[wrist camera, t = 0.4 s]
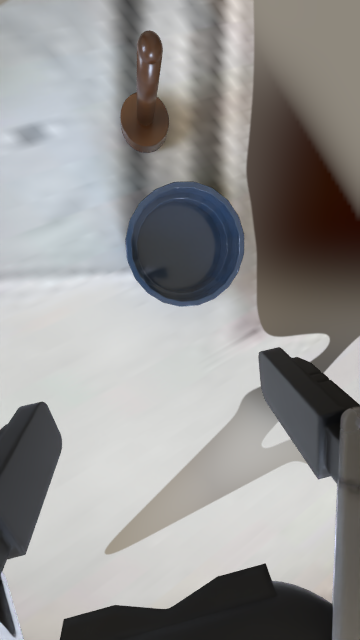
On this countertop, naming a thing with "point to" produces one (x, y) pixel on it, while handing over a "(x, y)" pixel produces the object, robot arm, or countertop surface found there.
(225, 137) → the countertop surface
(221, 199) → the bowl
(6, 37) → the countertop surface
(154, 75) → the brown stamp
